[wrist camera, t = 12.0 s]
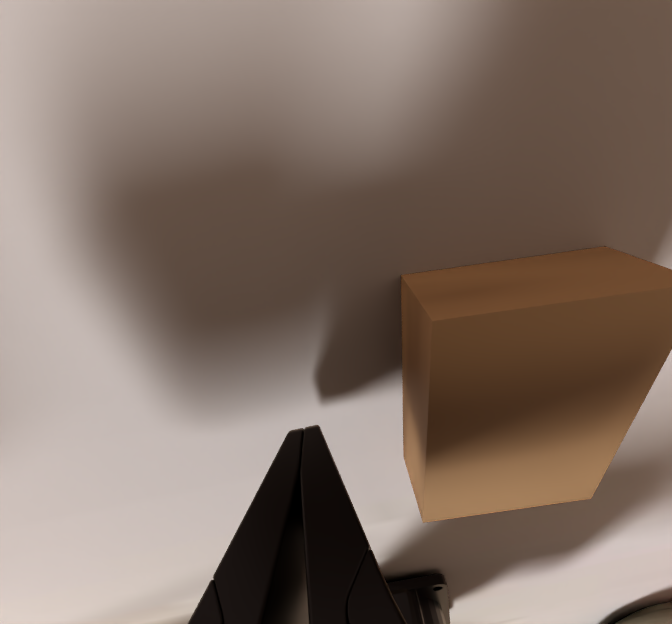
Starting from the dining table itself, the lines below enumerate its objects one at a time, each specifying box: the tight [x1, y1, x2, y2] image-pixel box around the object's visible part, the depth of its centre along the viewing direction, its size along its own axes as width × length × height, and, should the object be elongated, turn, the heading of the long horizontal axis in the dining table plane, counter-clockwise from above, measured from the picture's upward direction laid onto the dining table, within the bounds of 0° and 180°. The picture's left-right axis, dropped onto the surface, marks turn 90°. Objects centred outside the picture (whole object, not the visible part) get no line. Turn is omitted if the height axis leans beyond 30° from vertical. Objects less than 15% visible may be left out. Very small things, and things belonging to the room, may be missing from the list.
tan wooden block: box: [401, 246, 672, 523], centre depth 8 cm, size 7×5×2 cm
